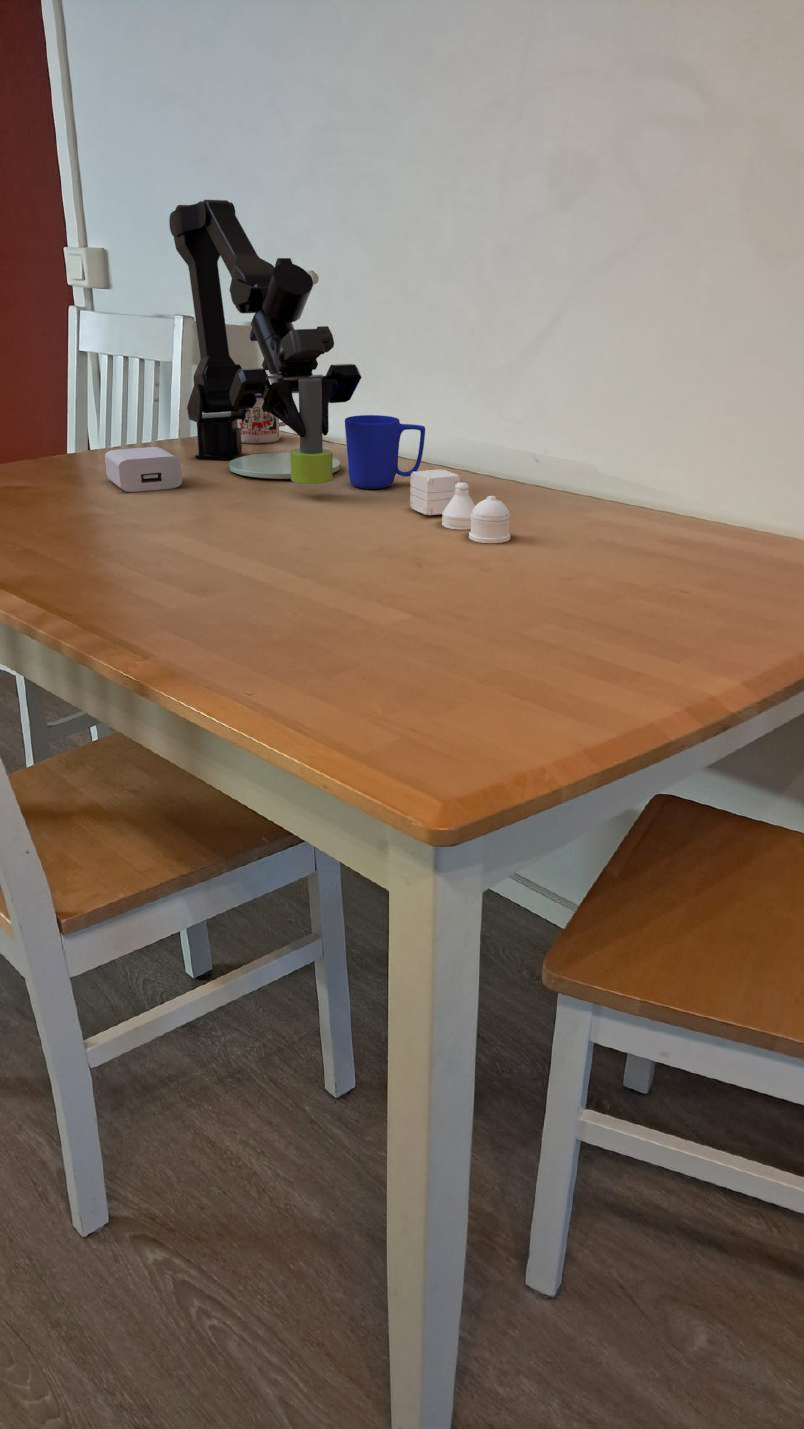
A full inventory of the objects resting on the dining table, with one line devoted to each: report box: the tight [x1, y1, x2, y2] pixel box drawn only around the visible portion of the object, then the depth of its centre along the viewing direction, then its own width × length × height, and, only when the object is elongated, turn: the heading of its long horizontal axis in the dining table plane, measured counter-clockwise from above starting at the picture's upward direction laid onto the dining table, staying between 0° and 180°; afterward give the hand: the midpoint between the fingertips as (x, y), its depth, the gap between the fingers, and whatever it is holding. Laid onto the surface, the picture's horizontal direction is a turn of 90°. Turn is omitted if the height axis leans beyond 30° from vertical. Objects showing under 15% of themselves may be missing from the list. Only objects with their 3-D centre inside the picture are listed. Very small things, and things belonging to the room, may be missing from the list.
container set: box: [409, 468, 511, 544], centre depth 140 cm, size 20×5×6 cm, turn 27°
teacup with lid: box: [237, 394, 287, 445], centre depth 197 cm, size 12×9×12 cm
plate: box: [228, 452, 341, 480], centre depth 173 cm, size 18×18×1 cm
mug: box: [344, 414, 426, 490], centre depth 161 cm, size 8×12×10 cm
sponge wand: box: [289, 378, 334, 485], centre depth 151 cm, size 6×6×14 cm
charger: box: [104, 446, 183, 493], centre depth 164 cm, size 5×9×15 cm
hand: (315, 434), depth 150 cm, fingers closed on sponge wand, 3 cm apart
